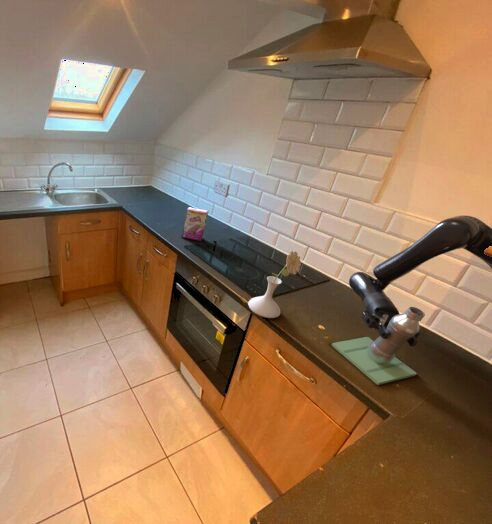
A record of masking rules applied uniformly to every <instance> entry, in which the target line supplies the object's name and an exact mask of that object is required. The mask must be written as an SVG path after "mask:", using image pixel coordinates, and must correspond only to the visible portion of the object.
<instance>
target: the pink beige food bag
mask: <svg viewBox="0 0 492 524" xmlns="http://www.w3.org/2000/svg"><path fill="white" fill-rule="evenodd" d="M209 211H210V210H206V209H201V208H196V207H190V206H188V207H187V209H186V214H185V219H184V225H183V230H182V235H181V238H184V239H187V240H188V239H189V240H194V241H197V242H202V240H203V237H204V232H205V228H206V225H207V221H208V216H209Z"/></svg>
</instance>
